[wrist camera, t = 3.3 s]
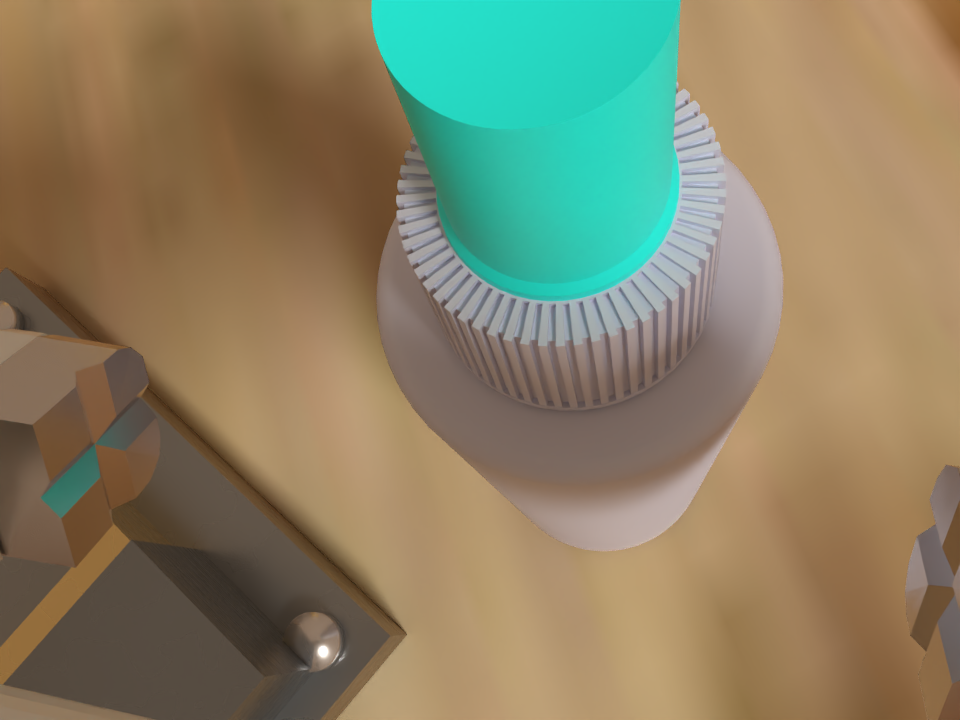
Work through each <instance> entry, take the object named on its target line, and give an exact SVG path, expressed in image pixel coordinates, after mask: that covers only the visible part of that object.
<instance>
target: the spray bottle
mask: <svg viewBox="0 0 960 720" xmlns="http://www.w3.org/2000/svg"><path fill="white" fill-rule="evenodd" d="M680 2H681V0H372V22H373V30H374V34H375V38H376V42H377V45H378V48H379V50H380V53H381V56H382V58H383V60H384V63H385V65H386V68H387V70H388V73H389V75H390V78H391V80H392V83H393V85H394V87H395V90H396V92H397V95H398V97H399V100H400V102H401V105H402V107H403V110H404V112H405V115H406V117H407V119H408V122H409V124H410V127H411V129H412V132H413V134H414V136H413V137H412V139H411V141H410V145H411V148H412V151H409V150H406V152H405V155H404V159H405V162H406V164H407V165H401V168H400V174H401V177H402V179H403V180H398V184H397V189H398V191H399V193H400V195H396V204H397V206H398V208H399V210H397V211H396V212H397V215H396V217H395V220H394V222H393V224H392V226H391V228H390V231H389V234H388V237H387V240H386V243H385V246H384V249H383V252H382V257H381V262H380V267H379V272H378V281H377V295H376V301H377V318H378V325H379V330H380V336H381V341H382V345H383V348H384V351H385V354H386V357H387V360H388V363H389V366H390V368H391V370H392V372H393V375H394V377H395V379H396V381H397V383H398V385H399V387H400V389H401V390H402V392H403V394H404V395H405V397H406V398H407V400H408V401H409V403H410V404H411V406H412V407H413V409H414V410H415V411H416V412H417V413H418V415H419V416H420V417H421V418H422V419H423V421H424V422H425V423H426V424H427V425H428V426H429V427H430V428H431V429H432V430H433V431H434V432H435V433H436V434H437V435H438V436H439V437H441V438H442V439H443V440H444V441H445V442H446V443H447V444H448V445H449V446H450V447H451V448H452V449H454V450H455V451H456V452H457V453H458V454H459V455H460V456H461V457H462V458H463V459H464V460H466V461H467V462H468V463H469V464H470V465H471V466H472V467H473V468H474V469H475V470H476V471H477V472H479V473H480V474H481V475H482V476H483V477H484V478H485V479H486V480H487V481H488V482H489V483H490V484H492V485H493V486H494V487H495V488H496V489H497V490H498V491H499V492H500V493H501V494H502V495H503V496H505V497H506V498H507V499H508V500H509V501H510V502H511V503H512V504H513V505H514V506H515V507H516V508H518V509H519V510H520V511H521V512H522V513H523V514H524V515H525V516H526V517H527V518H528V519H530V520H531V521H532V522H533V523H534V524H535V525H536V526H537V527H538V528H539V529H541V530H542V531H544V532H545V533H547V534H548V535H549V536H551V537H553V538H555V539H557V540H559V541H560V542H563V543H565V544H568V545H571V546H573V547H577V548H581V549H586V550H594V551H614V550H622V549H627V548H631V547H634V546H638V545H640V544H643V543H645V542H648V541H649V540H651V539H653V538H655V537H657V536H658V535H660V534H661V533H663V532H664V531H665V530H667V529H668V528H670V527H671V526H672V525H673V524H674V523H675V522H676V521H677V520H678V519H679V518H680V517H681V515H682V514H683V513H684V512H685V510H686V509H687V508H688V506H689V504H690V503H691V501H692V499H693V498H694V496H695V494H696V492H697V491H698V489H699V487H700V485H701V484H702V482H703V480H704V478H705V476H706V475H707V473H708V471H709V469H710V468H711V466H712V464H713V462H714V460H715V459H716V457H717V455H718V453H719V452H720V450H721V448H722V446H723V444H724V443H725V441H726V439H727V437H728V436H729V434H730V432H731V430H732V428H733V427H734V425H735V423H736V421H737V419H738V418H739V416H740V414H741V412H742V411H743V409H744V407H745V405H746V403H747V402H748V400H749V398H750V396H751V395H752V393H753V391H754V389H755V387H756V386H757V384H758V382H759V380H760V379H761V377H762V375H763V372H764V370H765V368H766V366H767V363H768V361H769V359H770V357H771V354H772V351H773V348H774V345H775V341H776V338H777V334H778V331H779V326H780V319H781V313H782V306H783V273H782V264H781V256H780V251H779V247H778V244H777V240H776V236H775V232H774V229H773V227H772V224H771V222H770V220H769V217H768V215H767V212H766V210H765V208H764V206H763V204H762V203H761V201H760V199H759V197H758V196H757V194H756V192H755V190H754V189H753V187H752V186H751V185H750V183H749V182H748V181H747V179H746V178H745V177H744V175H743V174H742V173H741V172H740V170H739V169H738V168H737V167H736V166H735V165H734V164H733V163H732V162H731V161H730V160H729V159H728V158H727V157H726V156H725V155H724V154H723V153H722V152H721V148H720V145H719V142H715V132H714V130H713V127H710V128H708V118H707V116H706V115H705V113H703V114H701V115H699V113H700V106H699V105H698V103H697V102H696V101H695V100H694V101H693V102H691V103H689V101H690V94H689V93H688V92H687V91H686V90H685V89H683V90H681V91H680V92H679V93H678V82H677V63H678V43H679V22H680Z"/></svg>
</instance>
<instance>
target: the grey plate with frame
mask: <svg viewBox="0 0 960 720" xmlns="http://www.w3.org/2000/svg"><path fill="white" fill-rule="evenodd" d="M7 329H18V330H25V331H33V332H40V333H45V334H48V335H59V336H65V337H71V338H77V339H83V340H89V341H95V342H99V341H98V340H97V339H96V338H95V337H94V336H93V335H92V334H91V333H90V332H89V331H88V330H86V329H85V328H84V327H83V326H82V325H81V324H80V323H79V322H78V321H77V320H76V319H75V318H74V317H73V316H72V315H71V314H70V313H69V312H68V311H67V310H65V309H64V308H63V307H62V306H61V305H60V304H59V303H58V302H57V301H56V300H55V299H54V298H53V297H52V296H51V295H50V294H49V293H48V292H47V291H45V290H44V289H43V288H42V287H41V286H39V285H37V284H35V283H33V282H32V281H30V280H28V279H26V278H24V277H23V276H21V275H19V274H17V273H15V272H14V271H12V270H10V269H8V268H5V269H4V270H3V271H2V272H1V273H0V330H7ZM140 398H141V399H142V400H143V401H144V402H145V404H146V405H147V406H148V407H149V408H150V409H151V411H152V412H153V413H154V414H155V415H156V416H157V421H158V426H159V431H160V455H159V459H158V461H157V464H156V467H155V469H154V472H153V475H152V478H151V480H150V481H149V483H148V484H147V485H146V486H145V488H144V489H143V490H142V491H141V493H140V494H139V495H138V496H137V497H136V498H135V499H133V500H131V501H129V502H126V503H124V504H122V505H120V506H118V507H116V508H113V509H111V510H112V523H113V525H112V527H111V528H110V529H109V530H108V531H107V532H106V534H105V535H104V536H103V537H102V538H101V539H100V540H99V542H98V543H97V544H96V545H95V546H94V547H93V548H92V550H91V551H90V552H89V553H88V554H87V555H86V557H85V558H84V559H83V560H82V561H81V562H80V563H79V565H78V566H77V567H76V568H74V567H68V566H62V565H56V564H50V563H44V562H38V561H32V560H26V559H20V558H14V557H8V556H2V558H3V559H2V560H1V561H0V684H2V685H6V686H11V687H15V688H19V689H24V690H28V691H33V692H37V693H41V694H46V695H50V696H55V697H59V698H63V699H68V700H72V701H77V702H81V703H85V704H90V705H94V706H98V707H103V708H107V709H112V710H116V711H120V712H125V713H129V714H134V715H138V716H142V717H147V718H151V719H156V720H336V719H337V717H338V716H339V715H340V714H341V713H342V711H343V710H344V709H345V708H346V707H347V705H348V704H349V703H350V702H351V701H352V699H353V698H354V697H355V696H356V695H357V693H358V692H359V691H360V690H361V689H362V688H363V686H364V685H365V684H366V683H367V682H368V680H369V679H370V678H371V677H372V676H373V674H374V673H375V672H376V671H377V670H378V668H379V667H380V666H381V665H382V664H383V662H384V661H385V660H386V659H387V658H388V656H389V655H390V654H391V653H392V652H393V650H394V649H395V648H396V647H397V646H398V644H399V643H400V642H401V641H402V640H403V639H404V637H405V636H406V635H407V634H406V633H405V632H404V631H403V630H402V629H401V628H400V627H399V626H398V625H397V624H395V623H394V622H393V621H392V620H391V619H390V618H389V617H388V616H387V615H386V614H385V613H384V612H383V611H382V610H381V609H380V608H379V607H378V606H377V605H376V604H374V603H373V602H372V601H371V600H370V599H369V598H368V597H367V596H366V595H365V594H364V593H363V592H362V591H361V590H360V589H359V588H358V587H357V586H356V585H355V584H353V583H352V582H351V581H350V580H349V579H348V578H347V577H346V576H345V575H344V574H343V573H342V572H341V571H340V570H339V569H338V568H337V567H336V566H335V565H333V564H332V563H331V562H330V561H329V560H328V559H327V558H326V557H325V556H324V555H323V554H322V553H321V552H320V551H319V550H318V549H317V548H316V547H315V546H314V545H312V544H311V543H310V542H309V541H308V540H307V539H306V538H305V537H304V536H303V535H302V534H301V533H300V532H299V531H298V530H297V529H296V528H295V527H294V526H292V525H291V524H290V523H289V522H288V521H287V520H286V519H285V518H284V517H283V516H282V515H281V514H280V513H279V512H278V511H277V510H276V509H275V508H274V507H273V506H271V505H270V504H269V503H268V502H267V501H266V500H265V499H264V498H263V497H262V496H261V495H260V494H259V493H258V492H257V491H256V490H255V489H254V488H253V487H252V486H250V485H249V484H248V483H247V482H246V481H245V480H244V479H243V478H242V477H241V476H240V475H239V474H238V473H237V472H236V471H235V470H234V469H233V468H232V467H230V466H229V465H228V464H227V463H226V462H225V461H224V460H223V459H222V458H221V457H220V456H219V455H218V454H217V453H216V452H215V451H214V450H213V449H212V448H211V447H209V446H208V445H207V444H206V443H205V442H204V441H203V440H202V439H201V438H200V437H199V436H198V435H197V434H196V433H195V432H194V431H193V430H192V429H191V428H189V427H188V426H187V425H186V424H185V423H184V422H183V421H182V420H181V419H180V418H179V417H178V416H177V415H176V414H175V413H174V412H173V411H172V410H171V409H170V408H168V407H167V406H166V405H165V404H164V403H163V402H162V401H161V400H160V399H159V398H158V397H157V396H156V395H155V394H154V393H153V392H152V391H151V390H150V389H149V388H146V389H145V391H144V393H143V394H142V396H141V397H140Z"/></svg>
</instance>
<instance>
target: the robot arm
mask: <svg viewBox="0 0 960 720" xmlns="http://www.w3.org/2000/svg"><path fill="white" fill-rule="evenodd" d="M148 384H149V379H148V375H147V371H146V368H145V364H144V360H143V356H141V355H140V354H139V353H137V352H136V351H135V350H133V349H132V348H131V347H125V346H119V345H113V344H107V343H101V342H95V341H89V340H83V339H77V338H71V337H65V336H59V335H48V334H45V333H40V332H33V331H25V330H18V329H7V330H0V561H1V560H2V559H3V558H2V556H8V557H14V558H20V559H26V560H32V561H38V562H44V563H50V564H56V565H62V566H68V567H74V568H76V567H77V566H78V565H79V563H80V562H81V561H82V560H83V559H84V558H85V557H86V555H87V554H88V553H89V552H90V551H91V550H92V548H93V547H94V546H95V545H96V544H97V543H98V542H99V540H100V539H101V538H102V537H103V536H104V535H105V534H106V532H107V531H108V530H109V529H110V528H111V527H112V525H113V523H112V510H111V509H113V508H116V507H118V506H120V505H122V504H124V503H126V502H129V501H131V500H133V499H135V498H136V497H137V496H138V495H139V494H140V493H141V491H142V490H143V489H144V488H145V486H146V485H147V484H148V483H149V481H150V480H151V478H152V475H153V472H154V469H155V467H156V464H157V461H158V459H159V455H160V431H159V426H158V421H157V416H156V415H155V414H154V413H153V412H152V411H151V409H150V408H149V407H148V406H147V405H146V404H145V402H144V401H143V400H142V399H141V398H140V397H141V396H142V394H143V393H144V391H145V389H146V388H147V386H148ZM930 503H931V506H932V510H933V514H934V518H935V522H936V524H935V525H934V526H932V527H931V528H929V529H928V530H926V531H925V532H923V533H922V534H920V535H918V536H917V538H916V541H915V545H914V548H913V551H912V555H911V558H910V561H909V565H908V573H907V581H906V590H905V599H906V615H907V621H908V626H909V632H910V636H911V637H912V638H913V639H914V640H915V641H916V642H917V643H918V644H919V645H920V646H921V647H922V648H923V649H924V650H925V651H926V654H925V657H924V659H923V662H922V665H921V668H920V670H919V673H918V676H919V681H920V686H921V690H922V695H923V700H924V704H925V709H926V714H927V718H928V720H960V467H959V466H952V465H946V466H945V467H944V469H943V470H942V472H941V473H940V475H939V477H938V478H937V481H936V484H935V486H934V489H933V492H932V495H931V497H930ZM0 720H156V719H151V718H147V717H142V716H138V715H134V714H129V713H125V712H120V711H116V710H112V709H107V708H103V707H98V706H94V705H90V704H85V703H81V702H77V701H72V700H68V699H63V698H59V697H55V696H50V695H46V694H41V693H37V692H33V691H28V690H24V689H19V688H15V687H11V686H6V685H2V684H0Z"/></svg>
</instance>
